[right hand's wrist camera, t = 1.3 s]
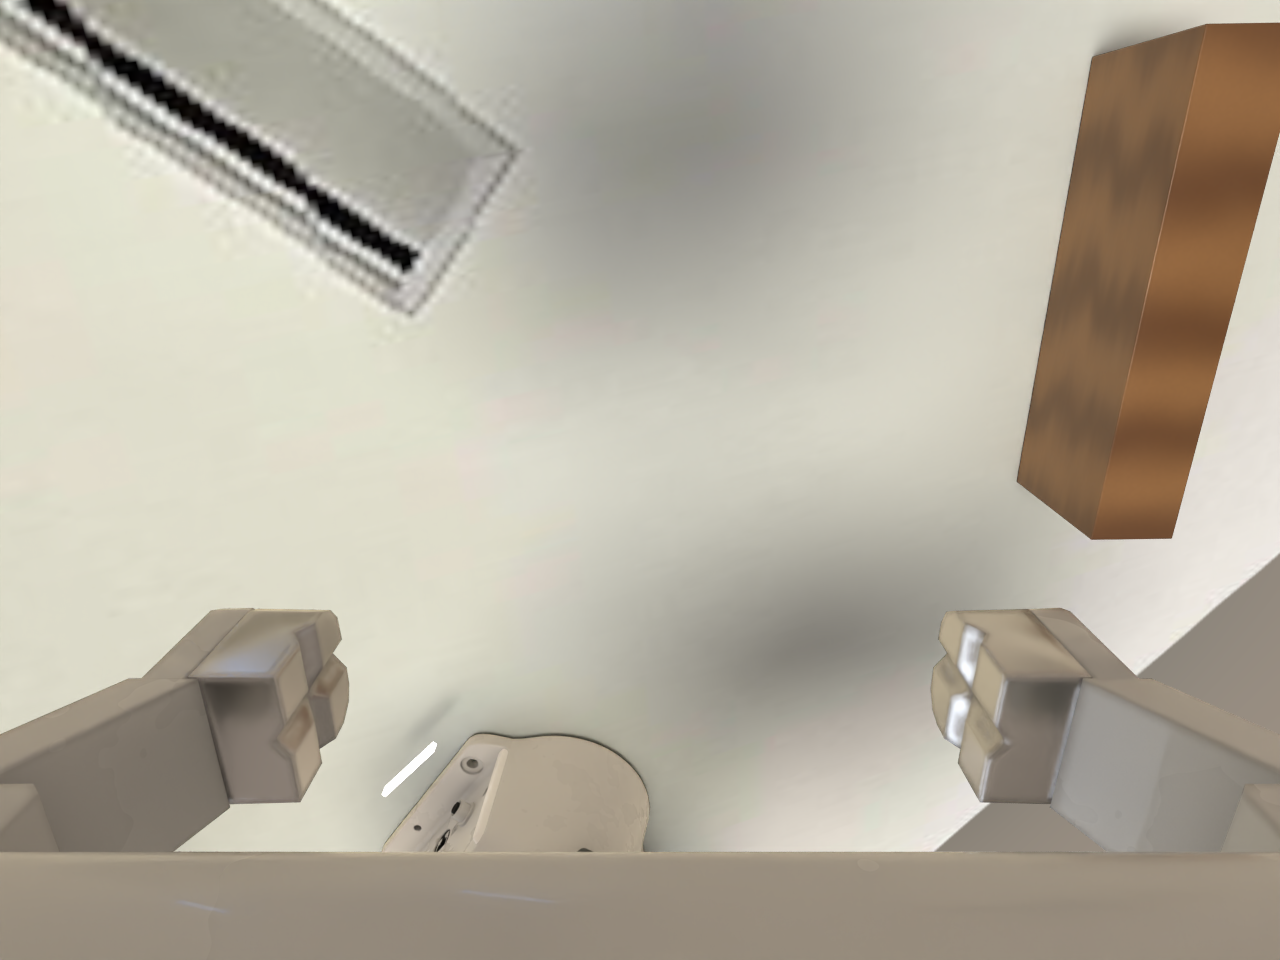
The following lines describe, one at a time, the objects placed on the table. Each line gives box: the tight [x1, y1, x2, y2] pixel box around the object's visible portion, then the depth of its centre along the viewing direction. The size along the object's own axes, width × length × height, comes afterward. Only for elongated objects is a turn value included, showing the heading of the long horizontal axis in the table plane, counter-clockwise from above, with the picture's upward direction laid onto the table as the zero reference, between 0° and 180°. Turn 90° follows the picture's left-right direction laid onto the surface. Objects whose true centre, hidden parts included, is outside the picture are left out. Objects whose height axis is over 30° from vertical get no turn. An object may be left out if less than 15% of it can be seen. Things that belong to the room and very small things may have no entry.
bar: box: [1017, 23, 1280, 540], centre depth 41 cm, size 25×4×9 cm, turn 1°
